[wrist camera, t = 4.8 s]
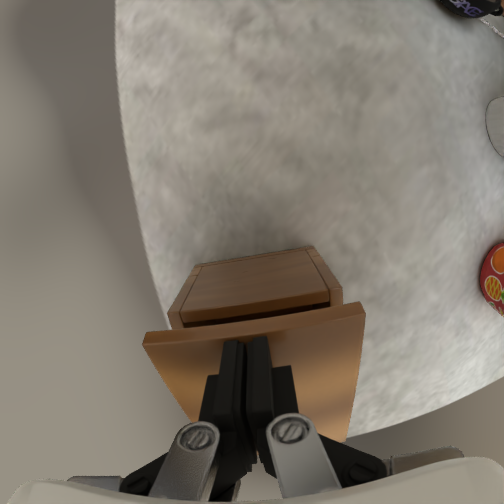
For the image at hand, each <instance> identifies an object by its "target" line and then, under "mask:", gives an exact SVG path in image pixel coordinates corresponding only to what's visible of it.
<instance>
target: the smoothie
mask: <svg viewBox="0 0 504 504" xmlns="http://www.w3.org/2000/svg"><path fill="white" fill-rule="evenodd" d="M480 286H481V289H482V292H483V293H484V295H485V299H486V301H487V302H488V303H489V304H490V306H492V307H493V308H494V309H495V310H496V311H497V312H499V313H500V314H501V315H502V316H503V317H504V243H499V244H498V245H496V246H494V247H493V248H492V250H491V251H490V252H489V253H488V255H487V257H486V259H485V261H484V264H483V267H482V270H481V276H480Z"/></svg>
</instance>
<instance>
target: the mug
mask: <svg viewBox="0 0 504 504" xmlns="http://www.w3.org/2000/svg"><path fill="white" fill-rule="evenodd" d="M440 1H441V2H442V3H443V4H444V5H445V6H446V7H447V8H448V9H450V10H451V11H452V12H454V13H456V14H458V15H460V16H463V17H466V18H478V19H479V20H481V19H482V22H483V23H484V22H485V24H486V23H487V26H490V23H488V22H487V21H485V20H484V19H483V18H482V17H483V16H485V15H488V14H491V15H494V16H500V15H502V14H503V12H504V9H503V7H502V6H501V0H440ZM498 8H499V10H498V11H495V10H497V9H498ZM494 28H495V26H493V28H492V27H491V29H493V30H494V31H495V32H496V33H497V34H499V35H500V36H502V37H503V39H504V35H503V34H502V33H501V34H500V32H499V31H498V30H496V28H495V29H494Z"/></svg>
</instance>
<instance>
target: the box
mask: <svg viewBox="0 0 504 504" xmlns="http://www.w3.org/2000/svg"><path fill="white" fill-rule="evenodd" d="M339 305H343V292H342V286H341V285H340V283H339V282H338V280H337V279H336V277H335V276H334V275H333V273H332V272H331V270H330V269H329V267H328V266H327V264H326V263H325V262H324V260H323V259H322V257H321V256H320V255H319V253H318V252H317V250H316V249H315V248H314V246H310V247H304V248H297V249H291V250H285V251H279V252H273V253H267V254H261V255H255V256H248V257H242V258H236V259H230V260H224V261H217V262H211V263H205V264H199V265H195V266H194V268H193V270H192V271H191V273H190V275H189V276H188V278H187V280H186V281H185V283H184V285H183V287H182V288H181V290H180V292H179V294H178V295H177V297H176V299H175V300H174V302H173V304H172V306H171V307H170V309H169V311H168V313H167V314H168V317H169V320H170V324H171V327H172V330H175V329H185V328H194V327H203V326H211V325H220V324H227V323H235V322H242V321H249V320H256V319H263V318H270V317H276V316H282V315H289V314H295V313H300V312H306V311H312V310H317V309H323V308H328V307H333V306H339Z"/></svg>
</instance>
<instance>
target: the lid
mask: <svg viewBox="0 0 504 504" xmlns="http://www.w3.org/2000/svg"><path fill="white" fill-rule="evenodd" d="M365 317H366V313H365V311H364V309H363V306H362V304H361V302H354V303H349V304H344V305H339V306H333V307H328V308H323V309H317V310H312V311H306V312H300V313H295V314H289V315H282V316H276V317H270V318H263V319H256V320H249V321H242V322H235V323H227V324H220V325H211V326H203V327H194V328H185V329H175V330H165V331H153V332H147V333H146V334H145V338H144V340H143V343H142V345H143V347H144V349H145V351H146V352H147V354H148V356H149V358H150V359H151V361H152V363H153V364H154V366H155V367H156V369H157V371H158V373H159V374H160V376H161V377H162V379H163V381H164V382H165V384H166V385H167V387H168V388H169V390H170V392H171V393H172V394H173V396H174V398H175V399H176V400H177V402H178V404H179V405H180V406H181V408H182V409H183V411H184V412H185V414H186V415H187V417H188V418H189V419H190V421H191V422H192V423H193V422H198V419H199V414H200V409H201V404H202V399H203V394H204V389H205V385H206V380H207V376H208V375H215V374H219V368H220V362H221V356H222V350H223V344H224V341H232V340H239V343H244V344H245V348H246V352H247V355H248V342H252V341H253V338H254V337H261V336H267V338H268V344H269V349H270V355H271V360H272V366H273V368H274V367H280V366H287V365H291V368H292V374H293V380H294V385H295V391H296V397H297V403H298V409H299V413H300V414H303V415H306V416H307V417H308V418H310V419H311V421H312V422H313V423H314V426H315V428H316V430H317V433H319V434H321V435H323V436H326V437H328V438H330V439H332V440H335V441H337V442H344V441H345V440H346V436H347V431H348V427H349V422H350V417H351V412H352V407H353V402H354V397H355V391H356V385H357V379H358V373H359V366H360V359H361V352H362V344H363V336H364V327H365ZM257 455H258V451H257Z"/></svg>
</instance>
